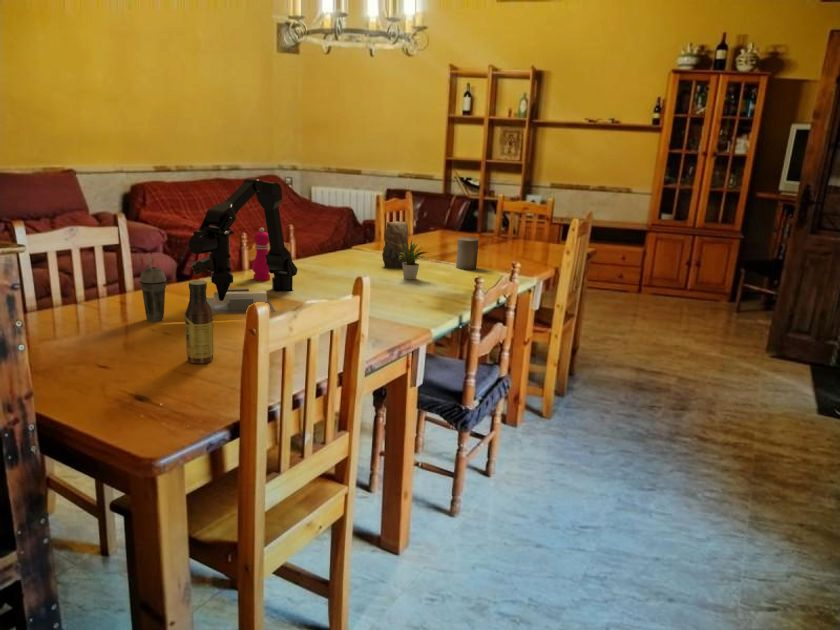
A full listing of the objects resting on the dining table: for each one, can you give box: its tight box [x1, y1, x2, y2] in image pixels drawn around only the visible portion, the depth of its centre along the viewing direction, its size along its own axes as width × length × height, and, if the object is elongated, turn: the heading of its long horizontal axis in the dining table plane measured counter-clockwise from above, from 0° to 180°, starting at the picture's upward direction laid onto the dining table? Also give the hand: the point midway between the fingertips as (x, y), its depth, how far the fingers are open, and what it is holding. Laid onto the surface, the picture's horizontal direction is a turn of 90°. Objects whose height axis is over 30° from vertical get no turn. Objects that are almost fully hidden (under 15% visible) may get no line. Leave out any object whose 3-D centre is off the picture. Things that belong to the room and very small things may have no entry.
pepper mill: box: [251, 227, 271, 282], centre depth 241 cm, size 7×7×20 cm
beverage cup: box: [139, 252, 168, 323], centre depth 181 cm, size 7×7×20 cm
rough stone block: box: [381, 220, 410, 270], centre depth 285 cm, size 13×13×20 cm
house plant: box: [395, 239, 430, 280], centre depth 259 cm, size 14×14×16 cm
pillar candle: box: [455, 236, 480, 271], centre depth 291 cm, size 10×10×15 cm
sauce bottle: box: [184, 279, 214, 365], centre depth 151 cm, size 7×6×20 cm
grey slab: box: [206, 288, 276, 315], centre depth 203 cm, size 20×20×4 cm
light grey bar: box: [213, 290, 268, 304], centre depth 200 cm, size 16×3×3 cm, turn 111°
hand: (220, 299), depth 198 cm, fingers closed on light grey bar, 3 cm apart
